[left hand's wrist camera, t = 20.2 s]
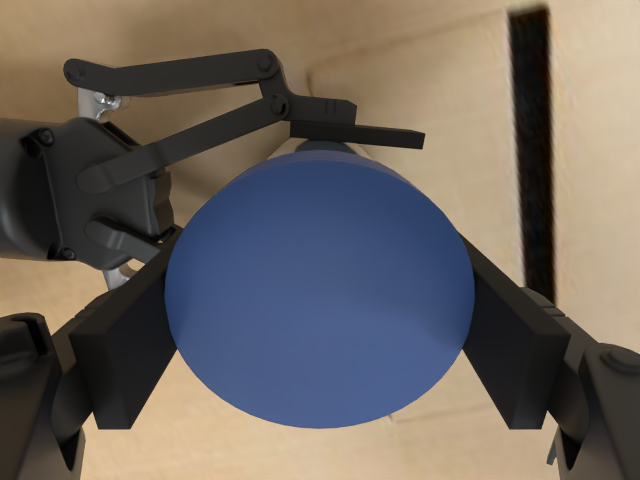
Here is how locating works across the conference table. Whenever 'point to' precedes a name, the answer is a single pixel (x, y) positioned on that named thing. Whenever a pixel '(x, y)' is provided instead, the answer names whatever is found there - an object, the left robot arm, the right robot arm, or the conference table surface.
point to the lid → (319, 291)
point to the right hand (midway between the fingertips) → (400, 222)
